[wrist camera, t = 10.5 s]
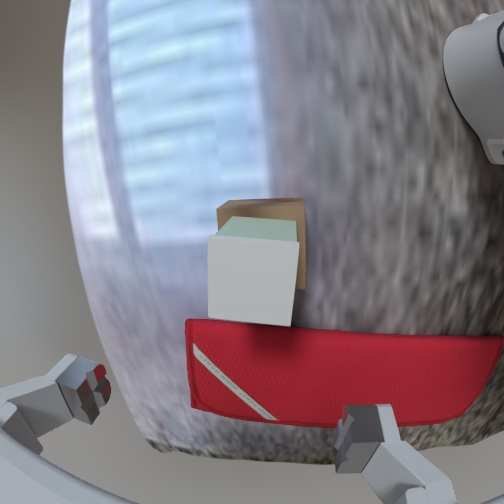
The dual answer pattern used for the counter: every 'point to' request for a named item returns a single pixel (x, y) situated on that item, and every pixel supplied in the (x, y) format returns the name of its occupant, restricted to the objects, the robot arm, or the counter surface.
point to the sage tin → (253, 270)
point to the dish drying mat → (332, 372)
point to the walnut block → (272, 210)
